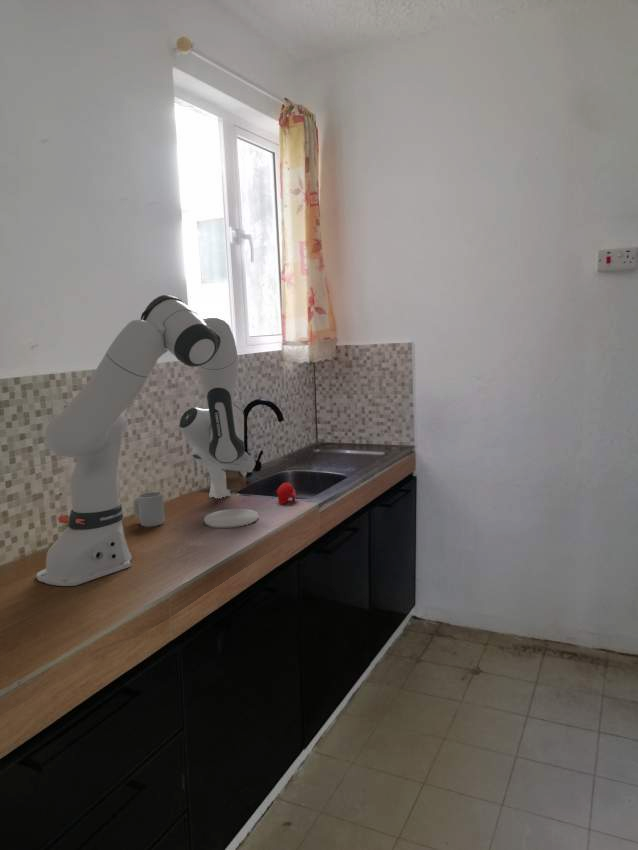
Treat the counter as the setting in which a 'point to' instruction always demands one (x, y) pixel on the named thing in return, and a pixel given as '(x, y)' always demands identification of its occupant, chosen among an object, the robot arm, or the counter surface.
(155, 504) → the cup
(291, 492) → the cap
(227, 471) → the walnut block
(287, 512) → the counter surface
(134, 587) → the counter surface
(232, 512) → the plate
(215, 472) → the skyscraper
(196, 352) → the robot arm
